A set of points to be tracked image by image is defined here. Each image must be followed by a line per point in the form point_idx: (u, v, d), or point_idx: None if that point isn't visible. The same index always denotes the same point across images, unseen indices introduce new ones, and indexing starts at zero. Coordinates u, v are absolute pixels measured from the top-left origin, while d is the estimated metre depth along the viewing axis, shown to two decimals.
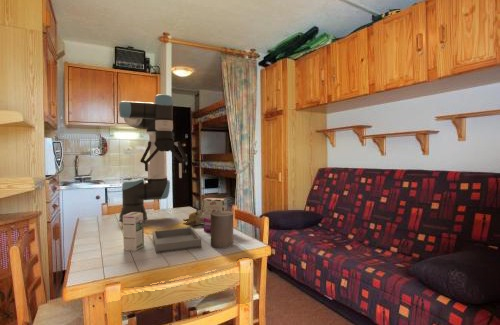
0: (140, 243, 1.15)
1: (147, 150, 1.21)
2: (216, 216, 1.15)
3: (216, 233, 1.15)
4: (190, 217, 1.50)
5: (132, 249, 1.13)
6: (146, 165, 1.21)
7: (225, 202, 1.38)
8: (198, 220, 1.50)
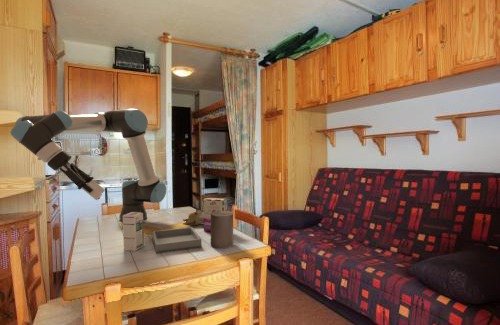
0: (140, 243, 1.15)
1: None
2: (216, 216, 1.15)
3: (216, 233, 1.15)
4: (190, 217, 1.50)
5: (132, 249, 1.13)
6: (90, 184, 1.15)
7: (225, 202, 1.38)
8: (198, 220, 1.50)
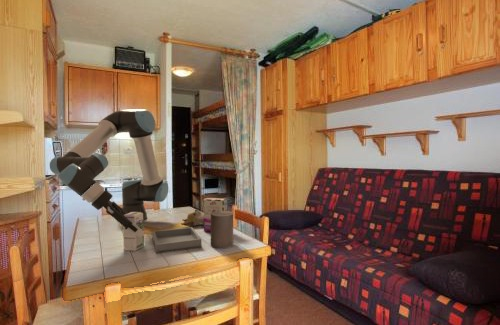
0: (140, 243, 1.15)
1: None
2: (216, 216, 1.15)
3: (216, 233, 1.15)
4: (188, 217, 1.49)
5: (132, 249, 1.13)
6: None
7: (225, 202, 1.38)
8: (196, 221, 1.49)
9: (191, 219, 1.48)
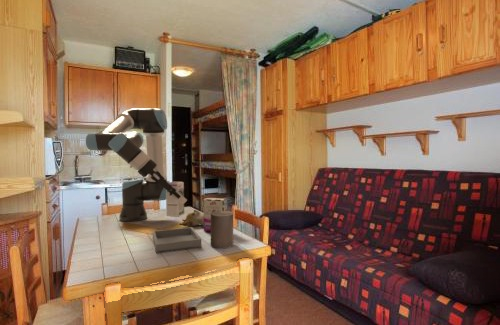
0: (182, 210, 1.21)
1: None
2: (216, 216, 1.15)
3: (216, 233, 1.15)
4: (187, 218, 1.49)
5: (175, 215, 1.19)
6: None
7: (225, 202, 1.38)
8: (194, 221, 1.48)
9: (189, 219, 1.48)
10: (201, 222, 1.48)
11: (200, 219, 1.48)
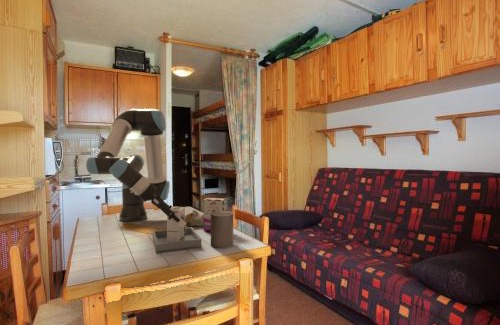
0: (182, 236, 1.22)
1: None
2: (216, 216, 1.15)
3: (216, 233, 1.15)
4: (185, 218, 1.48)
5: None
6: None
7: (225, 202, 1.38)
8: (193, 221, 1.47)
9: (188, 220, 1.47)
10: (199, 223, 1.47)
11: (198, 219, 1.47)
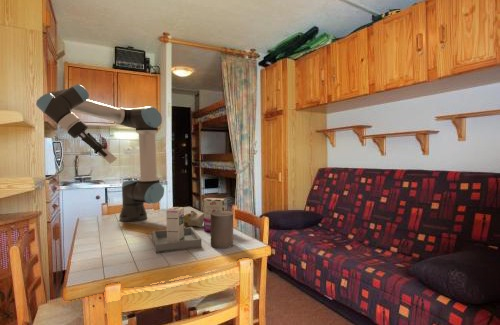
0: (182, 236, 1.22)
1: None
2: (216, 216, 1.15)
3: (216, 233, 1.15)
4: None
5: None
6: None
7: (225, 202, 1.38)
8: (190, 222, 1.46)
9: (185, 220, 1.46)
10: (196, 223, 1.45)
11: (195, 220, 1.46)
